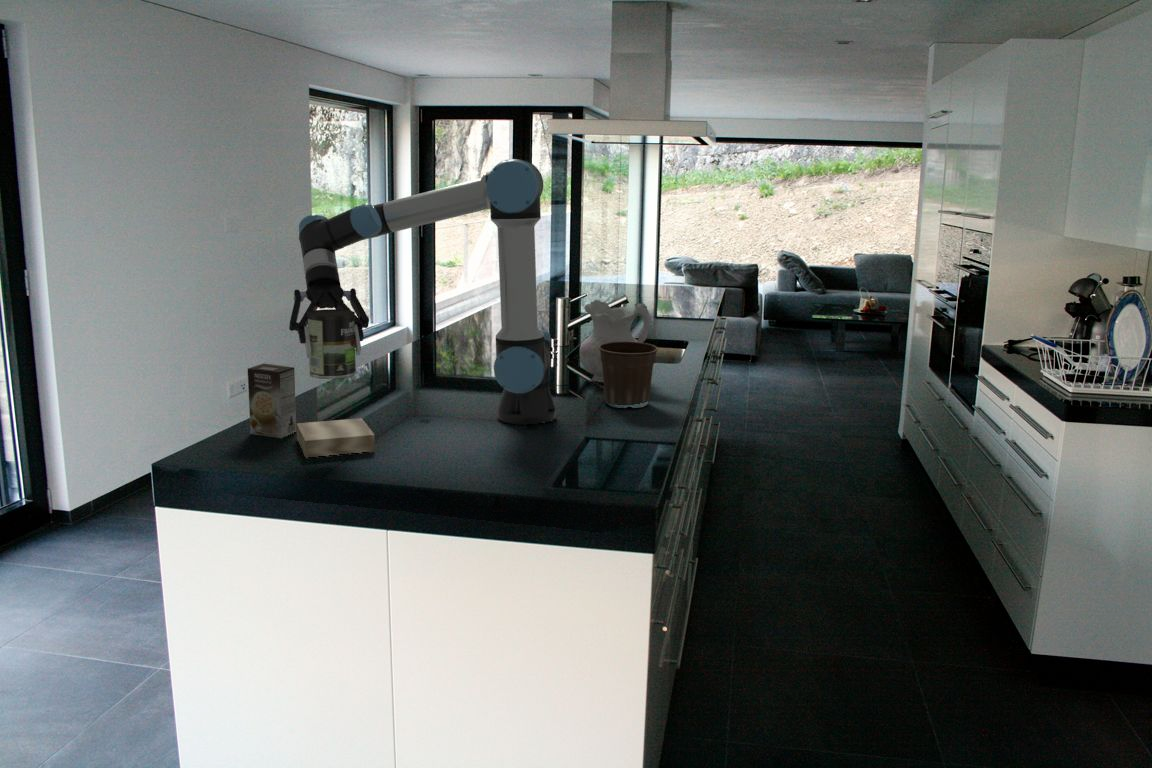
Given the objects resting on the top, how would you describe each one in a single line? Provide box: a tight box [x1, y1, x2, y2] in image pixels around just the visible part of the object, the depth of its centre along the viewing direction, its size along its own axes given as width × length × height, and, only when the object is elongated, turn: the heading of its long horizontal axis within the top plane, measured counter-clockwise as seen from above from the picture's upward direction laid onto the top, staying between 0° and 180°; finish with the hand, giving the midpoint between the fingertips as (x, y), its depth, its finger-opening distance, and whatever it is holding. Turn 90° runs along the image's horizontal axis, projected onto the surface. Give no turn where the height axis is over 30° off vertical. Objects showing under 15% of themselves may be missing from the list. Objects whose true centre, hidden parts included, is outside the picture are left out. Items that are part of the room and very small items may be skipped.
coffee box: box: [247, 363, 297, 439], centre depth 223 cm, size 9×6×16 cm
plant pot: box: [598, 342, 659, 405], centre depth 259 cm, size 16×16×16 cm
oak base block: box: [296, 417, 376, 459], centre depth 216 cm, size 15×15×4 cm
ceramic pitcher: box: [579, 299, 651, 382], centre depth 286 cm, size 22×20×25 cm
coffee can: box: [307, 308, 357, 380], centre depth 211 cm, size 10×10×14 cm
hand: (334, 353), depth 209 cm, fingers closed on coffee can, 10 cm apart
